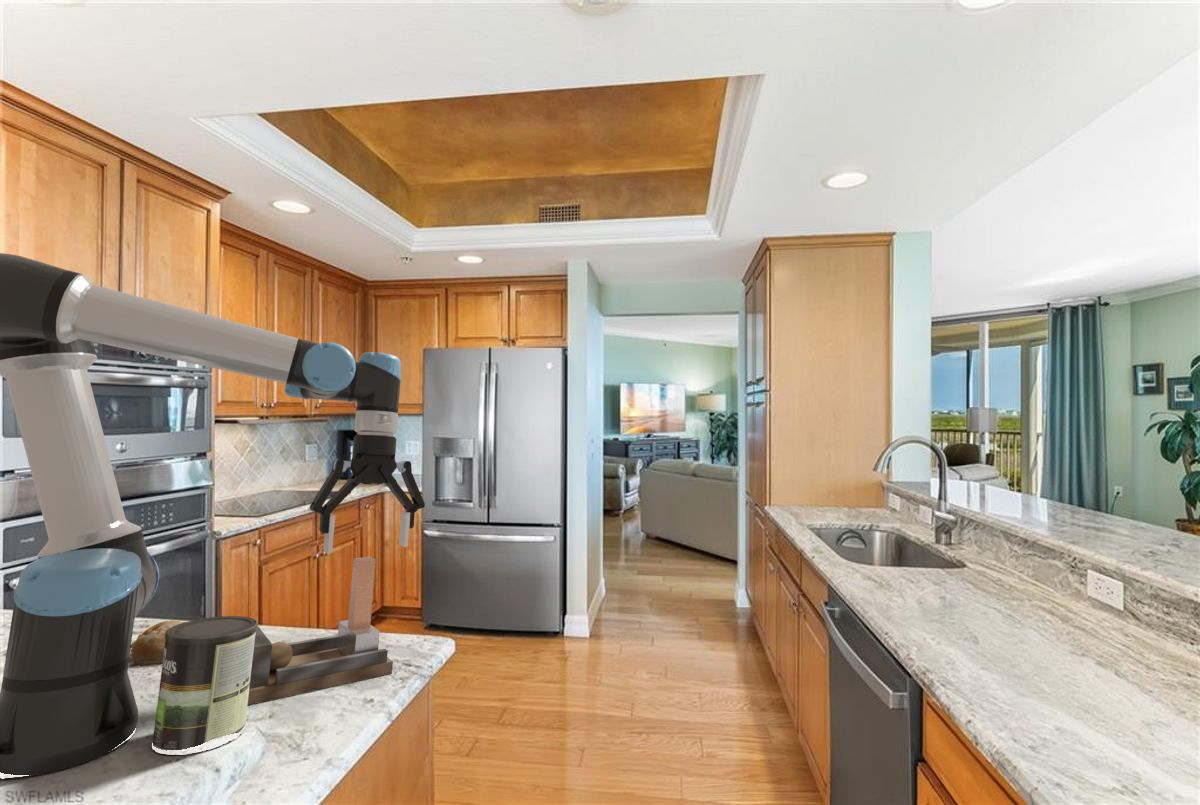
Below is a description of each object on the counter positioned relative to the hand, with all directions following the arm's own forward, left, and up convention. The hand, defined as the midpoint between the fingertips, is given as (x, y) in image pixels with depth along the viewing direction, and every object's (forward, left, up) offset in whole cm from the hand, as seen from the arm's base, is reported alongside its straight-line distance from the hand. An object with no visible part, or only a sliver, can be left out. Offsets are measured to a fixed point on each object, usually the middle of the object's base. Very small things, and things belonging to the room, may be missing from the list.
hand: (367, 549), depth 101 cm
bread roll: (-27, +25, -21) cm, 42 cm away
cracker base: (-7, 0, -21) cm, 22 cm away
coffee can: (-24, -14, -21) cm, 35 cm away
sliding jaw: (0, 0, -18) cm, 18 cm away
